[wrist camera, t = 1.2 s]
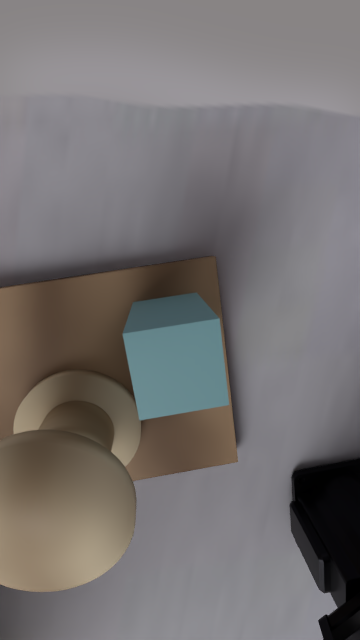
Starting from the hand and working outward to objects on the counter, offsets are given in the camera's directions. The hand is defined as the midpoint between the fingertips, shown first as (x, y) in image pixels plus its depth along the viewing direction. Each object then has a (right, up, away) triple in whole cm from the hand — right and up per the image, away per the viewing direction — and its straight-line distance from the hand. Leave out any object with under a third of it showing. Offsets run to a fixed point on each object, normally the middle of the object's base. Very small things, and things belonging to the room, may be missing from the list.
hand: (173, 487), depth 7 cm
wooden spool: (-6, -3, +12) cm, 13 cm away
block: (0, +3, +11) cm, 11 cm away
